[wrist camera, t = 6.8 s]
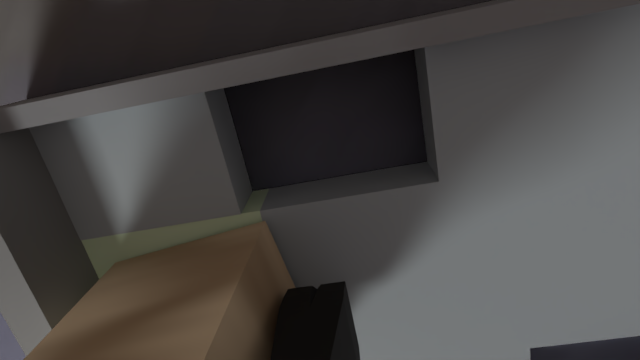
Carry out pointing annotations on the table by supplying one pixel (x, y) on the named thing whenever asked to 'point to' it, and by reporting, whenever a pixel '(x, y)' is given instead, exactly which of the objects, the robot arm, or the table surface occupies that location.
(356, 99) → the table surface
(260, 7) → the table surface
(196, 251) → the block
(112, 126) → the board
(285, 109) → the table surface
